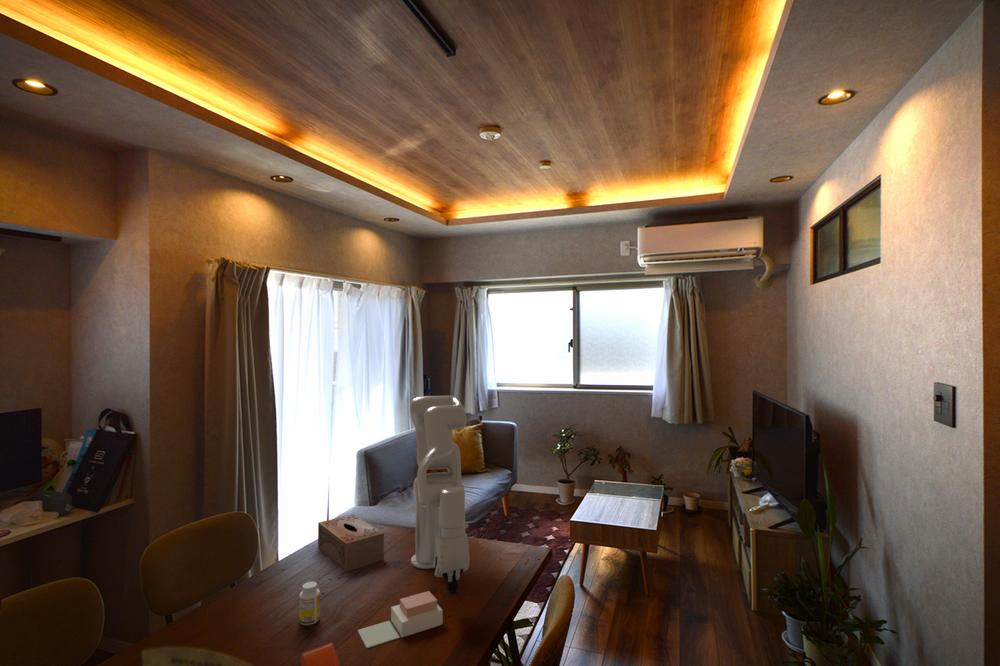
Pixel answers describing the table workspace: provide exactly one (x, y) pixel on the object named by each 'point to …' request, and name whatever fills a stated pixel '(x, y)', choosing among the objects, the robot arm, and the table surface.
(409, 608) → the pink rectangular block
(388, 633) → the mat
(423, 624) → the white rectangular block
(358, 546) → the tissue box cover
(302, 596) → the supplement bottle
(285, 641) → the table surface
